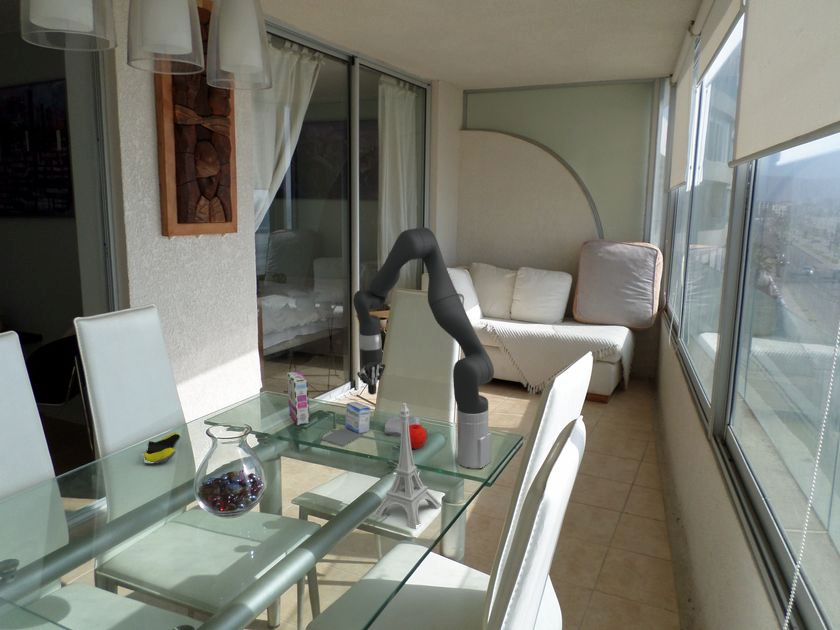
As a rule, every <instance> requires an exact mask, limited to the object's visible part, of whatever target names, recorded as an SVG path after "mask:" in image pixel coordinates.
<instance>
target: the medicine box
mask: <svg viewBox="0 0 840 630" xmlns="http://www.w3.org/2000/svg"><path fill="white" fill-rule="evenodd" d="M345 407H346V410H345V429H347V430H349V431H353V432H356V433H359V434H363V433H368V432H369V431H370V420H371V419H370V417H371V416H370V415H371V407H369V406H368V405H365V404H362V403H360V402H358V401H350V402H347V403H346V406H345Z"/></svg>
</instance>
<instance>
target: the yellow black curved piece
mask: <svg viewBox="0 0 840 630" xmlns="http://www.w3.org/2000/svg"><path fill="white" fill-rule="evenodd" d="M180 440H181V436H180V433H178V432H172V433H170V434H168V435H167V436H165V437H163V438H161V439H160V440H158V441H153V440H149V441H146V445H147V446H146V447H147V449H148V450H147V449H146V452H143V453H141V455H142V458H143V457H144V458H145V460H147V461H150V462H154V463H156V464H160V463H159V462H162V463H166V462H168V461H169V460H171V459H172V458H173V457H174V455H175V454H176V450H175V446H176V445H177V444H178V442H179V441H180ZM173 447H174V448H173Z"/></svg>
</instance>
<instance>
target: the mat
mask: <svg viewBox="0 0 840 630" xmlns="http://www.w3.org/2000/svg"><path fill="white" fill-rule="evenodd" d="M361 436H362V437H364V434H363V433H357V432H355V431H353V430H350V429H347V428H343V427H340V428H339V429H336V430H334V431H333V432H331V433H329V434H327V435H325V436H323V437H321V438H320V440H321V441H324V442H326V441H327V443H330V442H332V443H331V444H333V443H335V444H334V445H336V444H338V445H337V446H339V445H340V447H342V446H344V447H345V445H346V444H347V445H349V444H351V443H352V442H351V441H353V440H355V439H357V438H359V437H360V438H362V437H361ZM360 438H359V439H360ZM357 440H358V439H357ZM355 441H356V440H355ZM350 442H351V443H350ZM353 442H354V441H353ZM348 443H349V444H348ZM347 445H346V446H347Z"/></svg>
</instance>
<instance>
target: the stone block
mask: <svg viewBox="0 0 840 630" xmlns="http://www.w3.org/2000/svg"><path fill="white" fill-rule="evenodd" d="M408 421H409V425H414V424H418V425H421V419H420V418H419V417H416V416H413V415H410V416H409V418H408ZM383 431H384V435H386V434H390V435H389V436H393V435H396V436H395V437H400V436H401V418H400V417H394V416H390V417H388V418H387V419H386V422H385V425H384V429H383Z"/></svg>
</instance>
